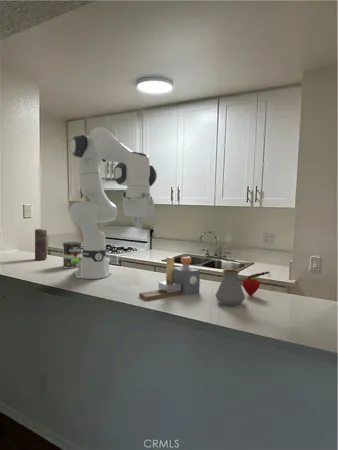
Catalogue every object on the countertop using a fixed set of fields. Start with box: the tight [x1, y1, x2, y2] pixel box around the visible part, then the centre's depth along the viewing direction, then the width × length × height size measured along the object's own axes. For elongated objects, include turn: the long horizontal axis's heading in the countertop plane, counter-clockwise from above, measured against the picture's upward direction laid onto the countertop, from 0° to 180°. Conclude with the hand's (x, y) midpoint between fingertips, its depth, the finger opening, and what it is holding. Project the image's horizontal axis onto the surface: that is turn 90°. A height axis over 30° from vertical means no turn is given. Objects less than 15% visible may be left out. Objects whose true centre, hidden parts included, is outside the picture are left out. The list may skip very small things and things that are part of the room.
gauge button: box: [180, 256, 192, 270], centre depth 139 cm, size 5×5×11 cm
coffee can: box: [62, 241, 82, 269], centre depth 185 cm, size 10×10×14 cm
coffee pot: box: [215, 269, 272, 307], centre depth 121 cm, size 21×12×15 cm, turn 53°
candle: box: [34, 228, 48, 261], centre depth 205 cm, size 8×7×20 cm
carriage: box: [158, 256, 181, 293], centre depth 134 cm, size 7×7×14 cm
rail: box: [138, 289, 183, 301], centre depth 132 cm, size 6×18×2 cm, turn 124°
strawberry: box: [241, 272, 261, 297], centre depth 134 cm, size 6×8×10 cm
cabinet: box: [174, 265, 201, 296], centre depth 139 cm, size 11×8×10 cm
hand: (137, 228), depth 124 cm, fingers closed
